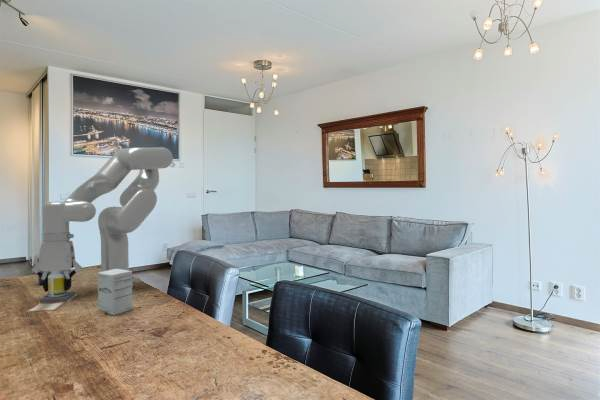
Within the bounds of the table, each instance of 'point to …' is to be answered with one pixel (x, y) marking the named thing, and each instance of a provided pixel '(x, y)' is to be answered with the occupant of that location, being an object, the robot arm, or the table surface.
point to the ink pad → (57, 298)
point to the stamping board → (47, 306)
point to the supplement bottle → (56, 284)
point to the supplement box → (115, 291)
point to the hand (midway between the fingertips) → (57, 289)
